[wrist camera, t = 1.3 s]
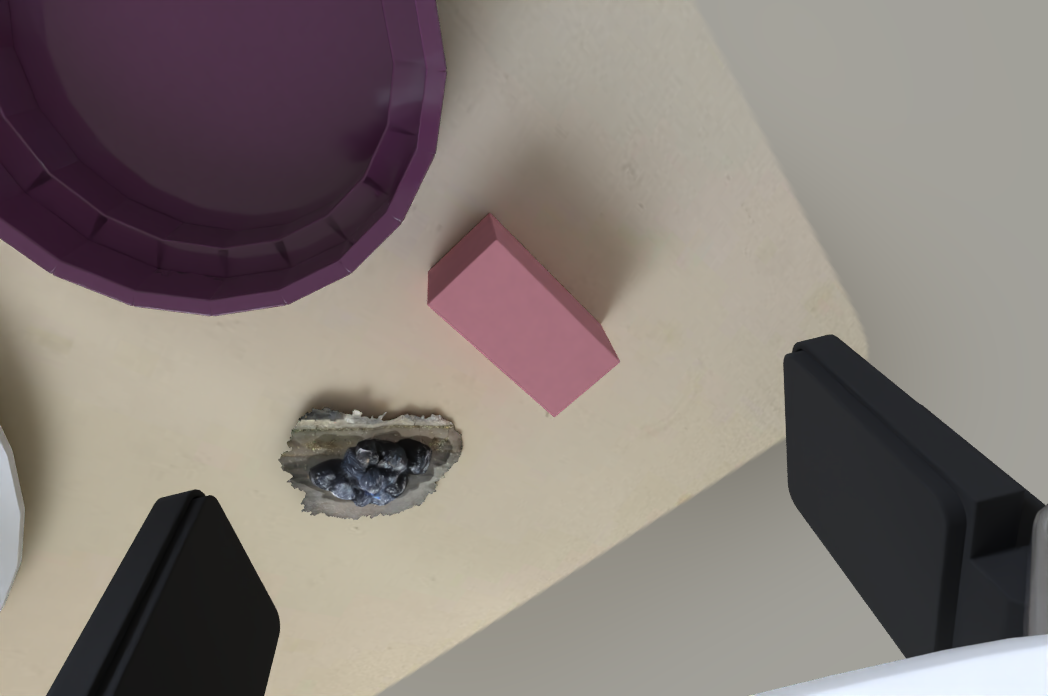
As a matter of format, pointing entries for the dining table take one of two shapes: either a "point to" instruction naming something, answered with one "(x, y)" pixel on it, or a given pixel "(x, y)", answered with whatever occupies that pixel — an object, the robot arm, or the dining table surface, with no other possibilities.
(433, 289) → the eraser
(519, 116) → the dining table surface
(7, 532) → the plated food
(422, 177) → the bowl
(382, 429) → the geode
